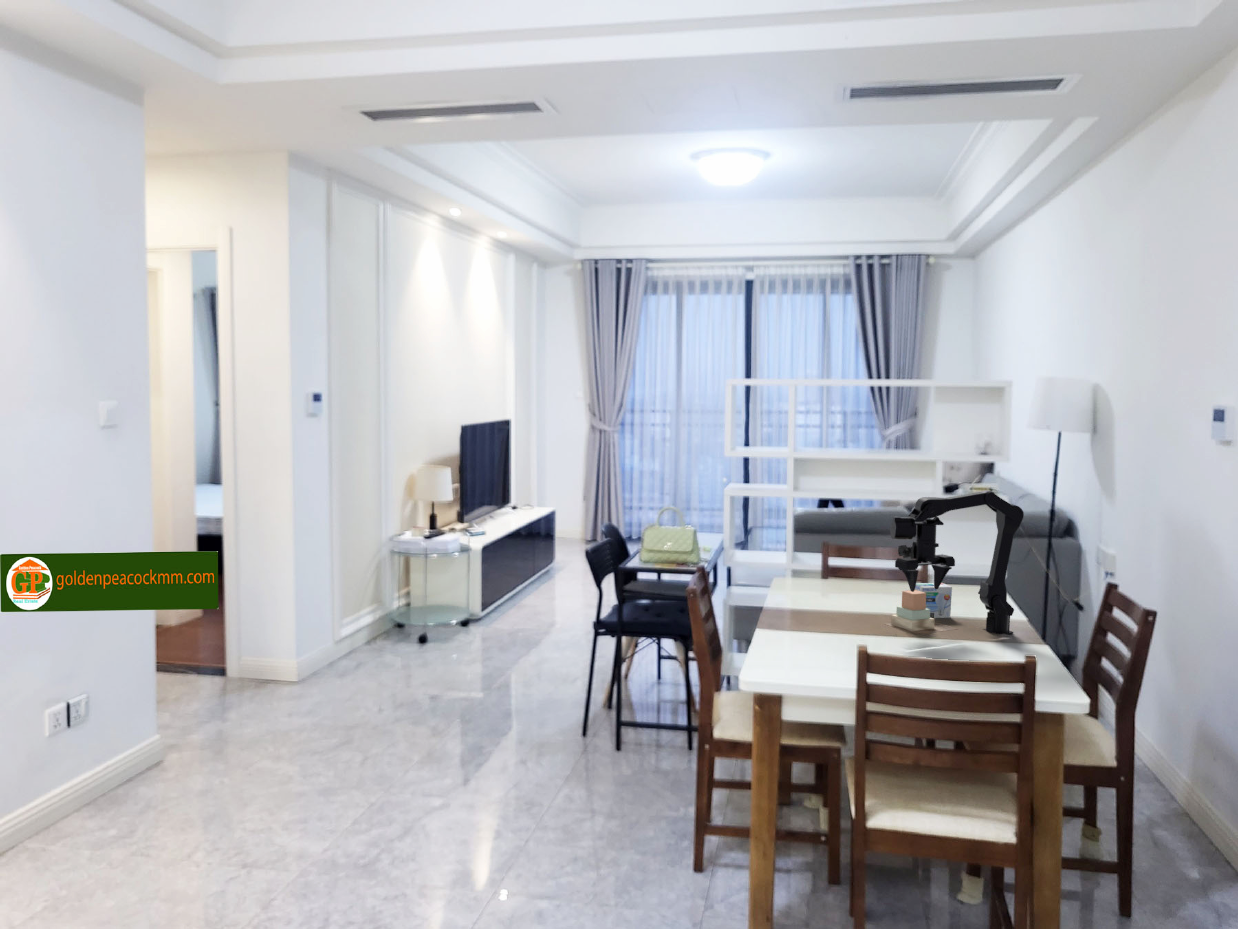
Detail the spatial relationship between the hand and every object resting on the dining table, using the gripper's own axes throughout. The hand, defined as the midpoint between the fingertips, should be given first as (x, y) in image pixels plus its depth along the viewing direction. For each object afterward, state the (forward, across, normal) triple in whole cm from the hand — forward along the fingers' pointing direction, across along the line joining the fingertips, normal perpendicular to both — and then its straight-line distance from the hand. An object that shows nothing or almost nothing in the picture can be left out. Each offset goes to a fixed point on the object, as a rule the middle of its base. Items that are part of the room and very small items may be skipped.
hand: (924, 590), depth 294 cm
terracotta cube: (+6, 0, -4) cm, 8 cm away
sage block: (+9, 0, -4) cm, 10 cm away
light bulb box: (+13, -15, -14) cm, 24 cm away
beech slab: (+12, 0, -4) cm, 13 cm away
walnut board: (+13, -2, -3) cm, 13 cm away
